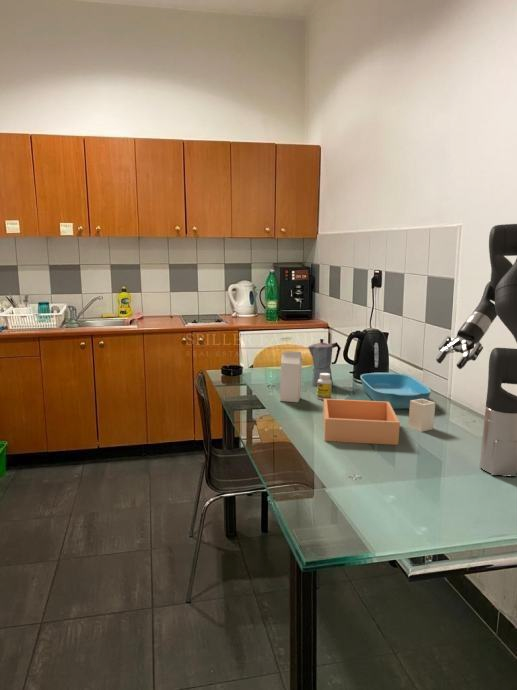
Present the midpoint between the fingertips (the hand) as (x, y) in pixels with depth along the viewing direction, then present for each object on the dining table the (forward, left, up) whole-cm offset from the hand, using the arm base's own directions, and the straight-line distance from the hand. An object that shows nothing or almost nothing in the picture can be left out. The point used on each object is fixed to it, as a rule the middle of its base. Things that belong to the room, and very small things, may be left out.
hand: (448, 364), depth 178 cm
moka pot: (+45, +40, -21) cm, 63 cm away
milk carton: (+20, +53, -21) cm, 60 cm away
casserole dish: (+28, +13, -21) cm, 37 cm away
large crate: (-12, +30, -20) cm, 38 cm away
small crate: (-6, +9, -21) cm, 23 cm away
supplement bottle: (+24, +40, -21) cm, 51 cm away
